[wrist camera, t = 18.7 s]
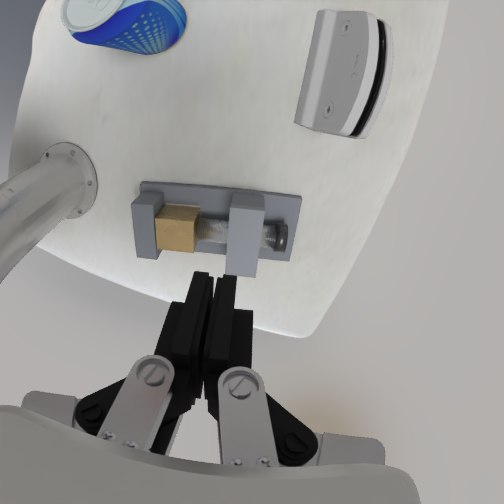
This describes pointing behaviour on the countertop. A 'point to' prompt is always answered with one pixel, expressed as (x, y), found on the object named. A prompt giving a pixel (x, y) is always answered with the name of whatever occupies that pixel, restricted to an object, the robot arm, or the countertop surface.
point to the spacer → (177, 228)
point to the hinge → (346, 74)
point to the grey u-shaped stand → (219, 208)
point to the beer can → (125, 23)
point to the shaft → (219, 234)
